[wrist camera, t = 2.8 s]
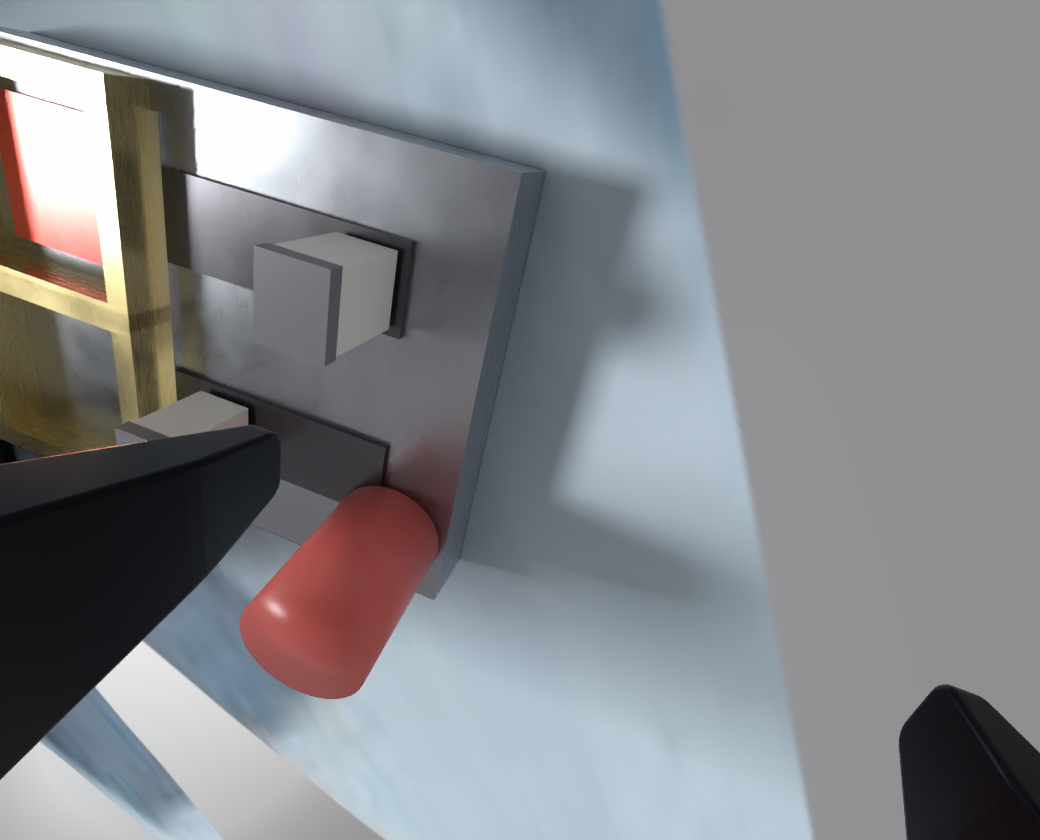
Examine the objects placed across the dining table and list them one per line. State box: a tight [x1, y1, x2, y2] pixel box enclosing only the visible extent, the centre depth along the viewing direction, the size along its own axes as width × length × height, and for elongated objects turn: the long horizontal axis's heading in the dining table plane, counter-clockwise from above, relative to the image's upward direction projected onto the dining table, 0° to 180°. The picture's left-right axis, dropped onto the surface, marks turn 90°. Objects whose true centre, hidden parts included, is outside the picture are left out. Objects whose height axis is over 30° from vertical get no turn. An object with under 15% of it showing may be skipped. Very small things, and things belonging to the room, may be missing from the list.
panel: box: [0, 27, 546, 600], centre depth 21 cm, size 16×20×4 cm
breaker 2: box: [253, 232, 398, 367], centre depth 16 cm, size 2×2×3 cm
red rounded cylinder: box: [240, 486, 439, 699], centre depth 19 cm, size 4×4×6 cm
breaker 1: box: [115, 391, 248, 446], centre depth 20 cm, size 2×2×3 cm
